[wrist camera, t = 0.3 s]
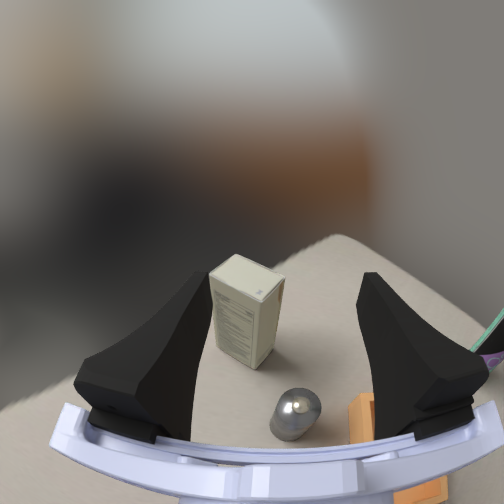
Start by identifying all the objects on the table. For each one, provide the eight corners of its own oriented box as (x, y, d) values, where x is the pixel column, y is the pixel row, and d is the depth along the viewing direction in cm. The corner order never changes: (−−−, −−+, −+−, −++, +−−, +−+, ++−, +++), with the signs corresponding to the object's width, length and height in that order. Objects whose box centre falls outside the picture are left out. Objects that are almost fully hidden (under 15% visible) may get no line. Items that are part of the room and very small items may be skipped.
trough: (427, 503, 14) (448, 499, 12) (348, 523, 15) (364, 524, 12) (417, 400, 26) (432, 387, 24) (348, 405, 27) (360, 393, 24)
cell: (305, 441, 23) (323, 425, 19) (268, 440, 24) (277, 423, 20) (306, 409, 27) (322, 386, 23) (271, 407, 27) (279, 383, 23)
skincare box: (274, 348, 33) (290, 277, 26) (254, 371, 30) (264, 304, 23) (234, 323, 36) (236, 250, 29) (212, 344, 33) (207, 272, 26)
